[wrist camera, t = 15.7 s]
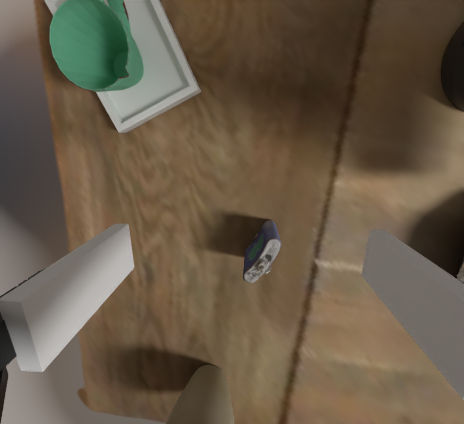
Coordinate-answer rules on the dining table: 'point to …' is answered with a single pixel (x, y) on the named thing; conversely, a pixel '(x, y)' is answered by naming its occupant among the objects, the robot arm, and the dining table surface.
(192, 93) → the cradle tray
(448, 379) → the robot arm
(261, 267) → the flask
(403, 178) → the dining table surface
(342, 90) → the dining table surface
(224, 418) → the plant pot
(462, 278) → the stone bowl
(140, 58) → the mug
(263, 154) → the dining table surface
